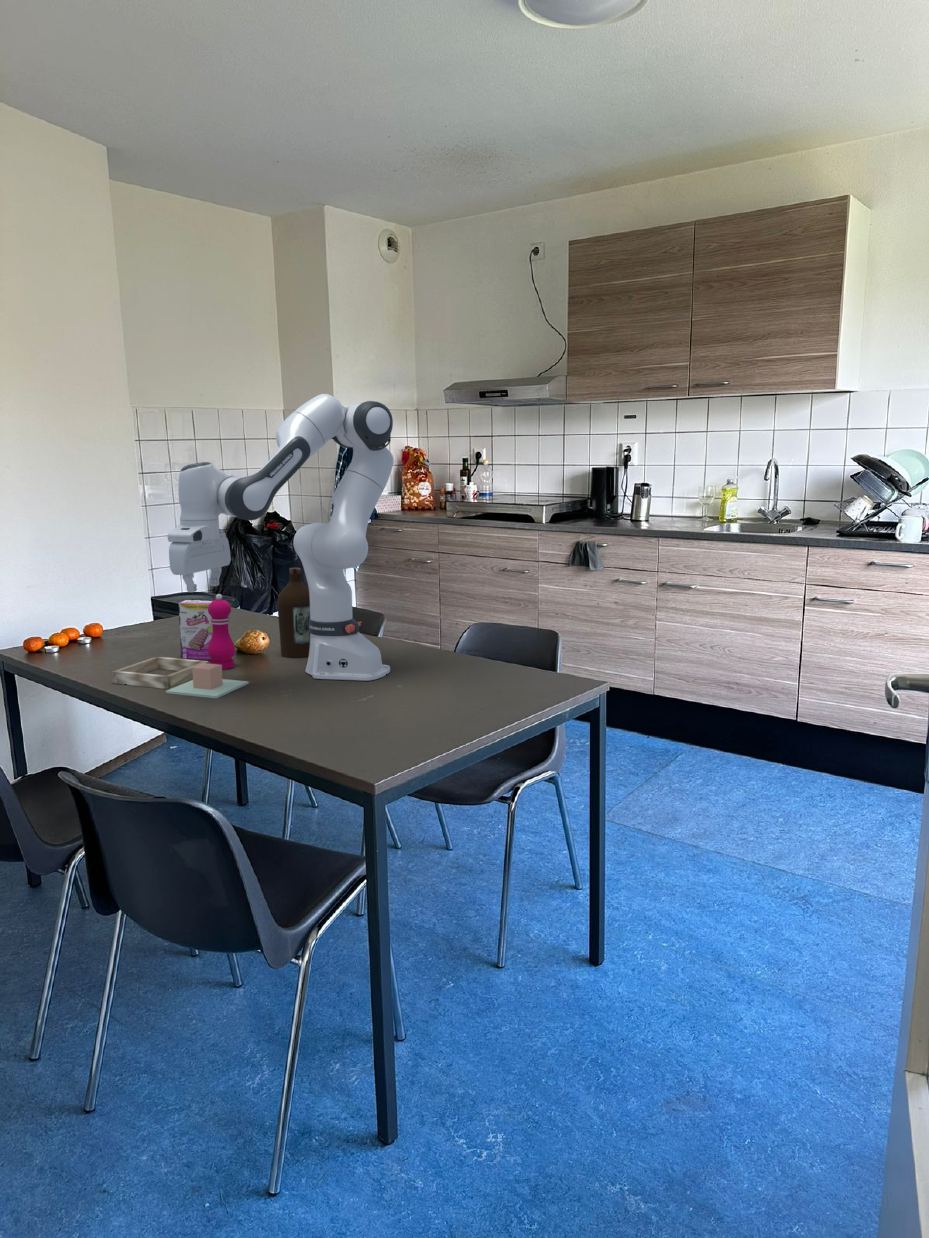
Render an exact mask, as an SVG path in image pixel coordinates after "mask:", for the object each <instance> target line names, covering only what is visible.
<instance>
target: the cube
mask: <svg viewBox="0 0 929 1238" xmlns="http://www.w3.org/2000/svg"><path fill="white" fill-rule="evenodd" d="M192 672H193V679H192V680H193V688H201V689H213V688H216V687H218V686H220V685H222V684H223V680H222V679H223V669H222V665H218V664H210V663H209V664H208V663H203V664H201V665H198V666H196V667H193V668H192Z"/></svg>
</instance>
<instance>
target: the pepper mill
mask: <svg viewBox="0 0 929 1238" xmlns="http://www.w3.org/2000/svg"><path fill="white" fill-rule="evenodd" d="M211 601H212V602H211V603H210V604H209V606H208V613H209V615H210V616H211V617H212V618H211V619H210V620H211V622H210V623H211V624H212V627H213V633H212V637H211V640H210V643H209V646H208V655H209V657H210V658H211V659H212V660H211V661H209V664H218V665H222V670H229V669H232V668H234V667H235V660H234V659H233V657H234V656H235V654H236V647H235V644H234V642H233V641H234V640H233V639H232V637H231V635H230V632H229V624H230V623H231V622H230V617H229V616H230V614H231V612H232V606H231V604H230V603H229V602H228V601H227V600H225V599H223V595H222V594H221V593H217V594H216V595H215V600H211Z"/></svg>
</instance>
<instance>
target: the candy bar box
mask: <svg viewBox="0 0 929 1238" xmlns="http://www.w3.org/2000/svg"><path fill="white" fill-rule="evenodd" d="M212 601H213V600H198V599H197V600H195V599H194V600H192V599H185V600H183V601H180V602H178V618H179V620H178V622H179V639H180V659H189V660H200V661H209V662H210V661H211V660H212V659H211V658H210V657H209V655H208V646H209V643H210V640H211V637H212V633H213V627H212V624H211V623H210V622H211V620H210V619H211V618H212V617H211V616H210V615H209V613H208V606H209V604H210V603H211V602H212Z"/></svg>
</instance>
